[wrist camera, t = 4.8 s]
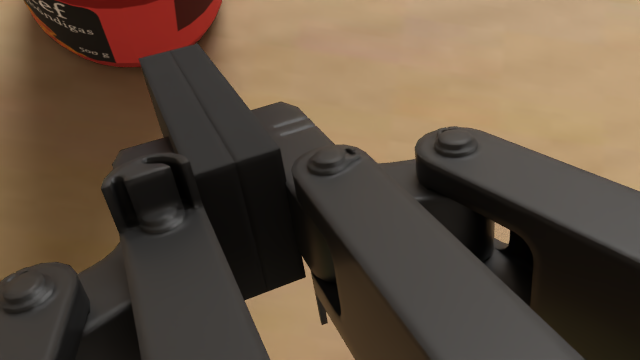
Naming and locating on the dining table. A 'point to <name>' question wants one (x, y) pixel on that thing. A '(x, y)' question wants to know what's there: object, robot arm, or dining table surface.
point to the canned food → (123, 26)
